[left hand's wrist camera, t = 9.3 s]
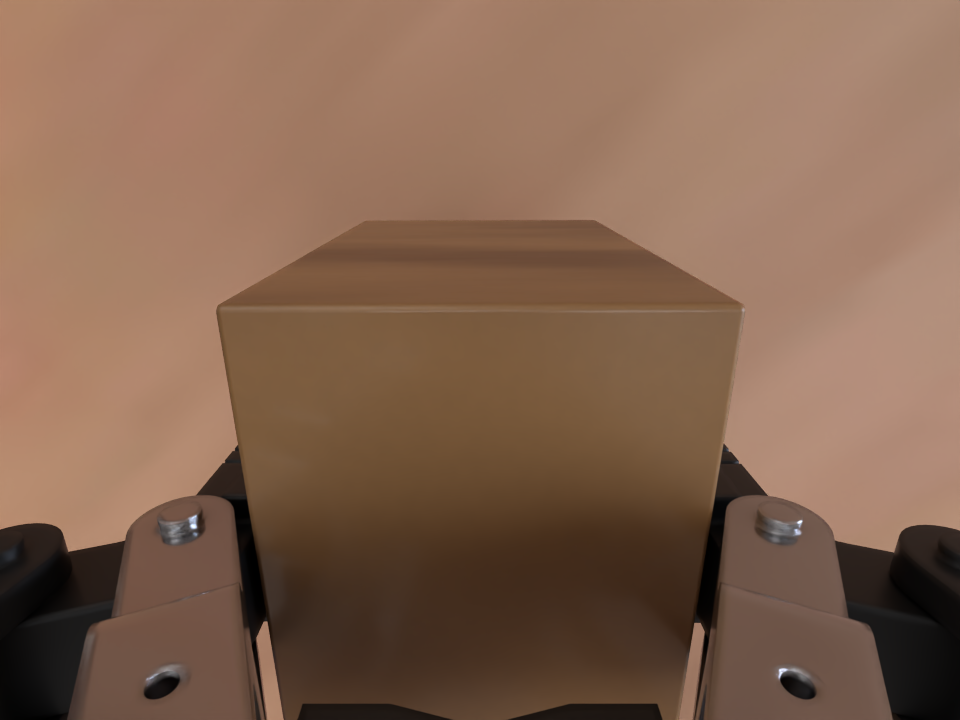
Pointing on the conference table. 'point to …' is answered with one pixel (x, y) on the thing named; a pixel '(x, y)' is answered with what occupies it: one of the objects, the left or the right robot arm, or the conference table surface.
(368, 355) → the bar
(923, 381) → the conference table surface
